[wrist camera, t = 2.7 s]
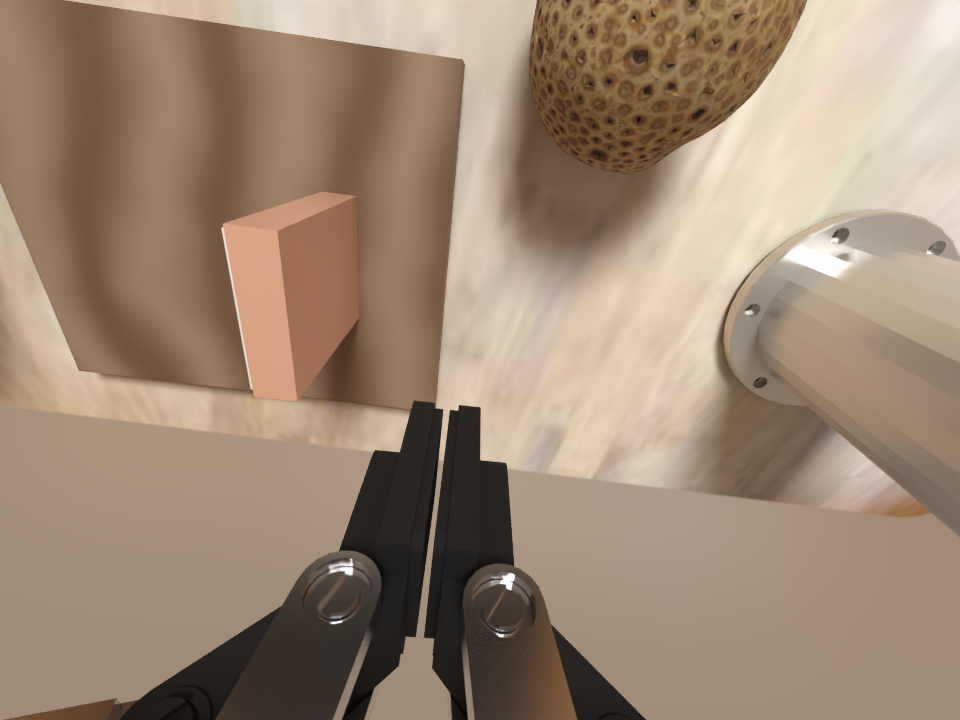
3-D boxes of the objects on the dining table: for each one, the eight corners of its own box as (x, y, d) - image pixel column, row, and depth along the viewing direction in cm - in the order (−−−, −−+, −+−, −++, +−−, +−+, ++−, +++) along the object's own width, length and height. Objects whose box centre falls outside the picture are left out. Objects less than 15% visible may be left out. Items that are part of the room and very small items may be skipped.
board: (464, 64, 20) (462, 59, 18) (435, 399, 29) (433, 411, 28) (-46, -11, 19) (-86, -22, 18) (98, 360, 29) (79, 370, 27)
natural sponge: (653, 184, 22) (759, 215, 13) (497, 138, 21) (499, 140, 13) (746, -33, 18) (991, -195, 9) (554, -101, 17) (620, -352, 8)
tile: (356, 196, 21) (277, 231, 14) (359, 317, 25) (297, 401, 17) (318, 191, 21) (216, 222, 13) (326, 313, 25) (249, 395, 17)
